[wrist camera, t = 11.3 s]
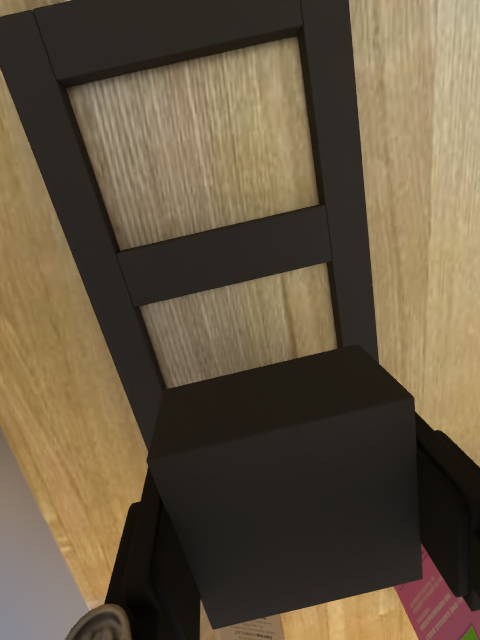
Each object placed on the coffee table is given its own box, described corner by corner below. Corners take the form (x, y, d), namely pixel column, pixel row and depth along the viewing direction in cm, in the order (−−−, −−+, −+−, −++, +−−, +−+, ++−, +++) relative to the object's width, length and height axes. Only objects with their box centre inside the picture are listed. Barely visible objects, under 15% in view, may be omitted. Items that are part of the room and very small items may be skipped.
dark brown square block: (211, 531, 12) (212, 631, 9) (162, 388, 10) (145, 461, 7) (374, 492, 12) (423, 580, 9) (358, 343, 10) (415, 397, 7)
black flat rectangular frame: (154, 451, 22) (152, 463, 21) (-5, 31, 14) (-20, 19, 13) (375, 398, 22) (383, 407, 21) (335, -44, 14) (344, -61, 13)
